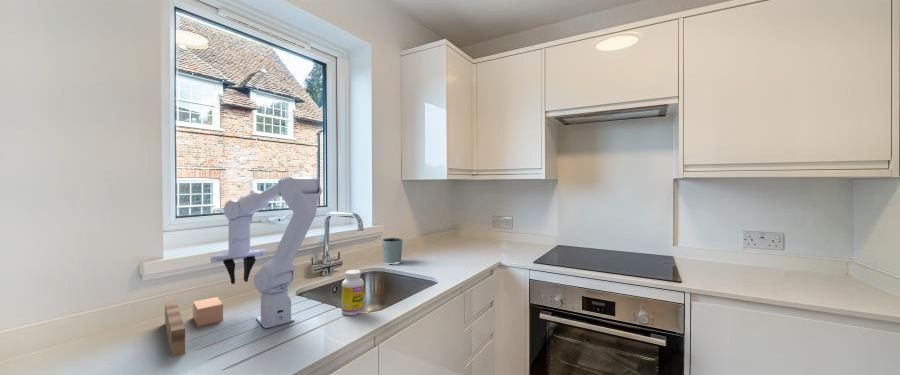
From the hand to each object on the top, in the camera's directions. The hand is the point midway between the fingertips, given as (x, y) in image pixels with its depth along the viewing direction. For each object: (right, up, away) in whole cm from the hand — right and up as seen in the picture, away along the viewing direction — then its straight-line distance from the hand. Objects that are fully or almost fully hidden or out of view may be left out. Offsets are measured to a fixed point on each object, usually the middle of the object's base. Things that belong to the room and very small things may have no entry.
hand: (239, 282), depth 104 cm
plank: (-6, -10, -17) cm, 20 cm away
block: (-6, -10, -5) cm, 12 cm away
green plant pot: (+37, -9, +64) cm, 74 cm away
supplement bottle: (+35, -10, +2) cm, 36 cm away
